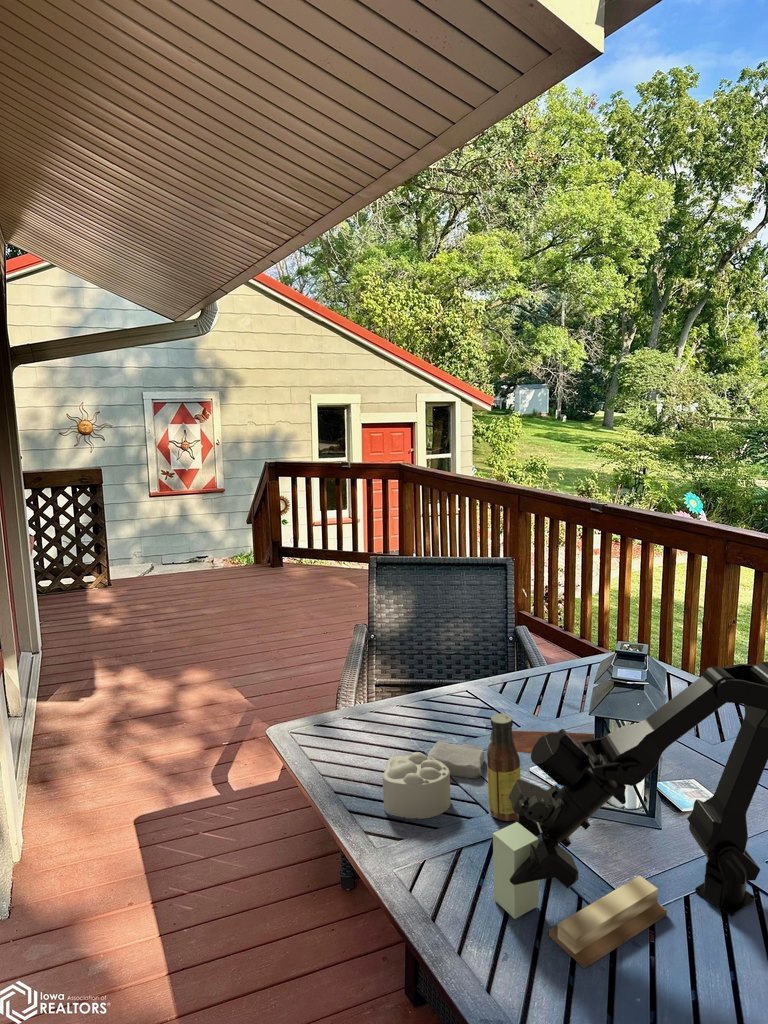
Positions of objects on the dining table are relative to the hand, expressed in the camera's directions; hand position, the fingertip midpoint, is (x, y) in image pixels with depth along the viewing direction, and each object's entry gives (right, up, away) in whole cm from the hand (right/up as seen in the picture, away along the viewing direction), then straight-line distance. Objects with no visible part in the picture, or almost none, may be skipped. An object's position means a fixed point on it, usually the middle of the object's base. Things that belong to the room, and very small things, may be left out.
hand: (507, 866), depth 109 cm
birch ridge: (+15, -7, -3) cm, 17 cm away
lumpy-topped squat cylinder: (-13, -2, +29) cm, 32 cm away
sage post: (+2, -6, +1) cm, 7 cm away
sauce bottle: (+4, -2, +25) cm, 25 cm away
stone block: (-4, +1, +42) cm, 42 cm away
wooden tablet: (+18, +2, +49) cm, 52 cm away
